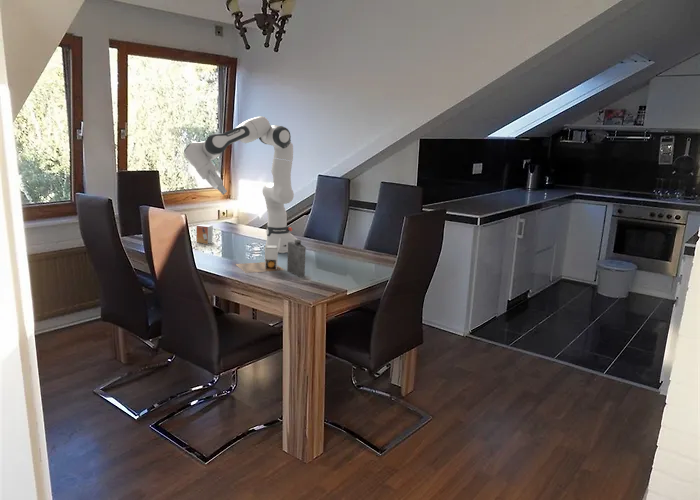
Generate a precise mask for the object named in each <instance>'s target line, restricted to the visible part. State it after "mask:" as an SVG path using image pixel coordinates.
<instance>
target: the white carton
mask: <svg viewBox="0 0 700 500" xmlns="http://www.w3.org/2000/svg"><path fill="white" fill-rule="evenodd" d="M265 245H266V244H265ZM265 245H264V248H265V250H264V262H265V269H266V266H268V262H269V261H273V262H274V263H275V266H274V267H276V269H277V265H278V264H279V263H278V262H279V261H278V260H279V259H278V258H279V256H278V255H279V253H278V245H266V246H265ZM278 266H279V265H278Z"/></svg>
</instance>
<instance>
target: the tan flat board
mask: <svg viewBox="0 0 700 500" xmlns="http://www.w3.org/2000/svg"><path fill="white" fill-rule="evenodd" d="M234 265H235V266H237V267H238V268H239V269H240V270H242V272H244V273H245V274H251V273H254V274H255V273H263V272H264V273H267V272H275V271H276V272H278V271H285V269H284V268H283V267H281V266H280V265H277V269H276V267H273V268H270V267H268V266H266V269H265V261H262V262H247V263H245V262H244V263H236V264H234Z"/></svg>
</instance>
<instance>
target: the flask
mask: <svg viewBox="0 0 700 500" xmlns="http://www.w3.org/2000/svg"><path fill="white" fill-rule="evenodd" d="M286 263H287V266H286V267H287V268H286V269H287V270H286V272H289V273H291V274H294V275H295V276H297V277H299V278H304V277H305V273H306V271H305V270H306V269H305V268H306V246H304V245H303V244H302V240H301V239H298V240H295V242H288V252H287V262H286Z"/></svg>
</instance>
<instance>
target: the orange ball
mask: <svg viewBox="0 0 700 500" xmlns="http://www.w3.org/2000/svg"><path fill="white" fill-rule="evenodd" d="M274 266H275V263H274V262H273V261H269V262H268V267H270V268H273V267H274Z"/></svg>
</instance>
